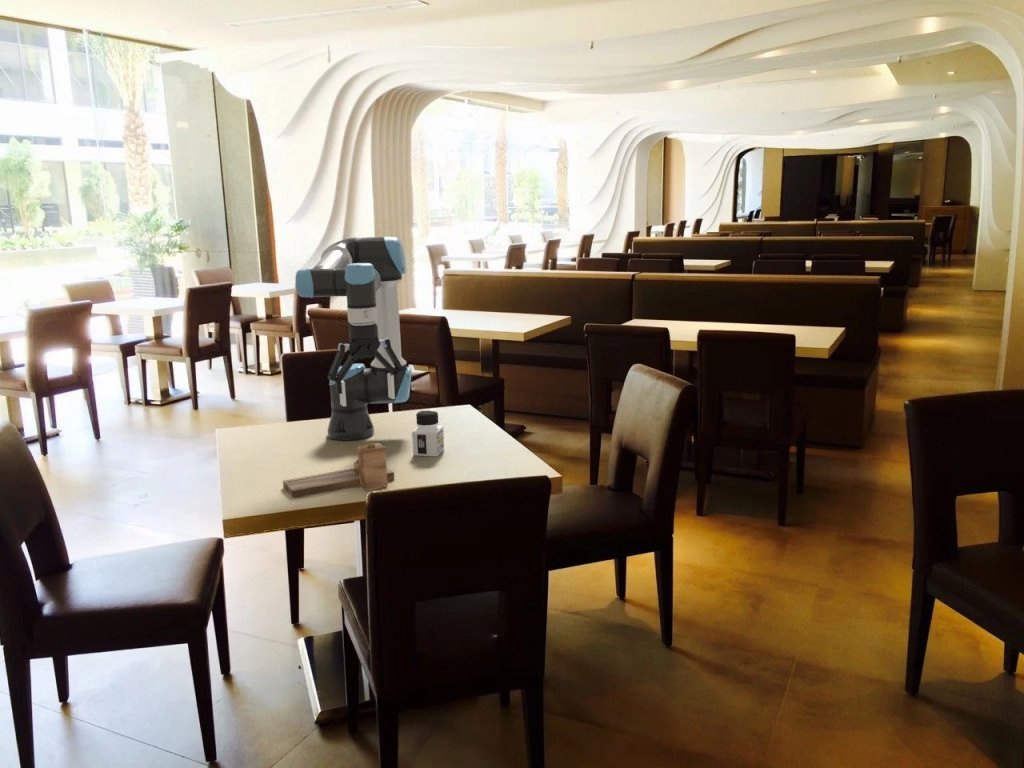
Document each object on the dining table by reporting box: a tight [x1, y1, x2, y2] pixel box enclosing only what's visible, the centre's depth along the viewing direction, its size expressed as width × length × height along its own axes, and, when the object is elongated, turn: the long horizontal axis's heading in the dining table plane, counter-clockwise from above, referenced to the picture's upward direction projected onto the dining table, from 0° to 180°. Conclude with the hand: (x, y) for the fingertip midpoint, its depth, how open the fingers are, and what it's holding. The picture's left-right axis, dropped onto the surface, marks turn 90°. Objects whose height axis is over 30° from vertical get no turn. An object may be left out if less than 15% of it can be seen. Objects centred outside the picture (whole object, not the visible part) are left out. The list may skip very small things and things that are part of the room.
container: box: [411, 409, 445, 457], centre depth 249 cm, size 8×8×13 cm
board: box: [282, 466, 395, 499], centre depth 224 cm, size 10×28×2 cm, turn 119°
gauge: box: [353, 442, 388, 491], centre depth 223 cm, size 14×6×12 cm, turn 29°
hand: (367, 401), depth 219 cm, fingers open, 13 cm apart
